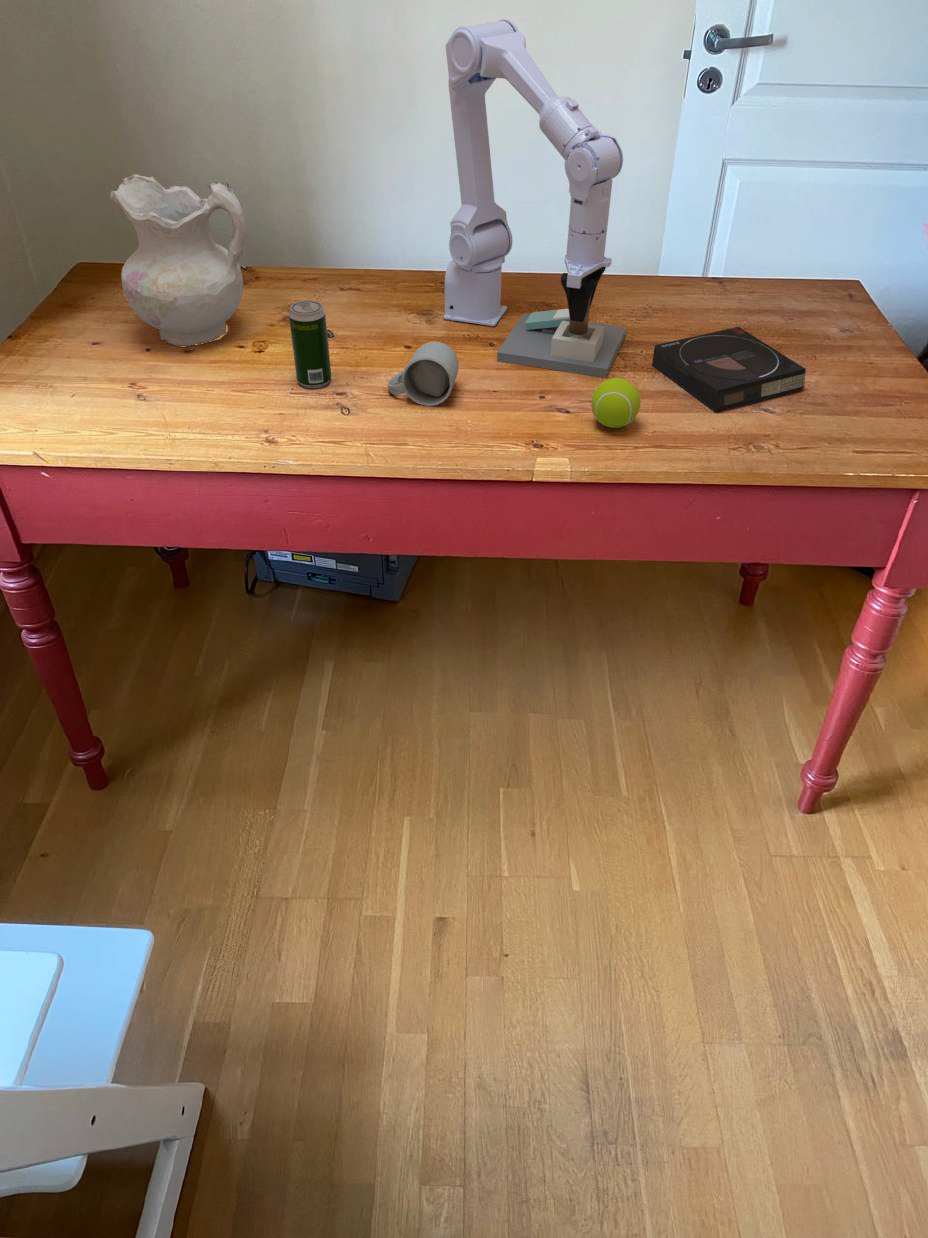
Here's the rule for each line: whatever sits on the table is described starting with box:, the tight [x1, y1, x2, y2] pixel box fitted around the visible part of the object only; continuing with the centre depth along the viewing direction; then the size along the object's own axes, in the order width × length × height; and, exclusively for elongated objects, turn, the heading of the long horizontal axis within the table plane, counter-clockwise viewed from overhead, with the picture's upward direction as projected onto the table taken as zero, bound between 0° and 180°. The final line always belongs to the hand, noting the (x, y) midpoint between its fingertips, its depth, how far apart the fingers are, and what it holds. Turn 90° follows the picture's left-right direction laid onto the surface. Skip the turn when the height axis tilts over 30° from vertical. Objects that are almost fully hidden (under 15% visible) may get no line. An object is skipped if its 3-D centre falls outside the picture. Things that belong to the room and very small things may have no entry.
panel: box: [496, 312, 627, 379], centre depth 154 cm, size 18×16×4 cm
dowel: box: [569, 298, 591, 335], centre depth 147 cm, size 3×3×7 cm
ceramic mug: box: [387, 341, 459, 407], centre depth 141 cm, size 11×8×8 cm
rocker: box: [525, 308, 570, 330], centre depth 157 cm, size 8×4×1 cm, turn 72°
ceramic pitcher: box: [109, 173, 247, 347], centre depth 152 cm, size 22×20×25 cm
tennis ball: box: [590, 377, 642, 429], centre depth 135 cm, size 7×7×7 cm
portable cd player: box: [651, 326, 807, 413], centre depth 147 cm, size 16×17×4 cm
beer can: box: [288, 300, 332, 390], centre depth 142 cm, size 5×5×12 cm
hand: (579, 315), depth 148 cm, fingers closed on dowel, 3 cm apart
